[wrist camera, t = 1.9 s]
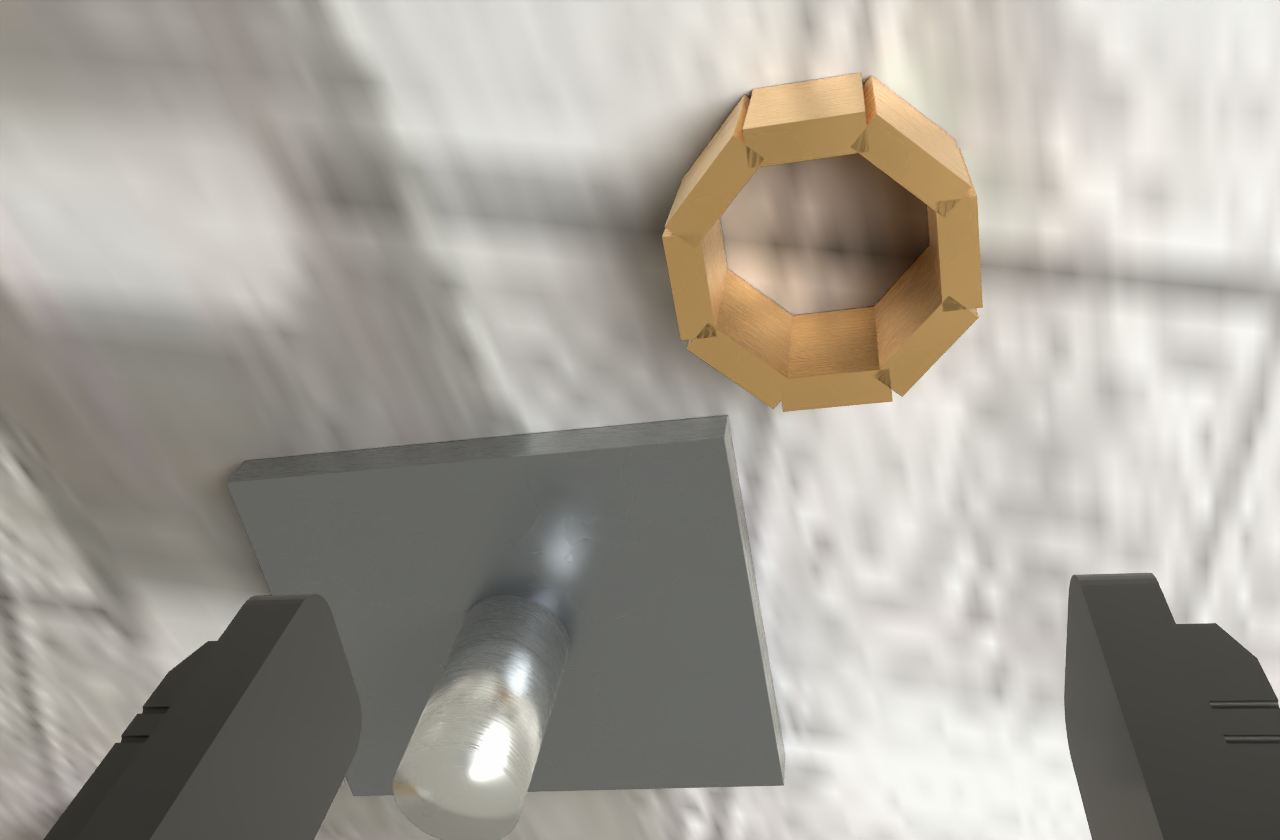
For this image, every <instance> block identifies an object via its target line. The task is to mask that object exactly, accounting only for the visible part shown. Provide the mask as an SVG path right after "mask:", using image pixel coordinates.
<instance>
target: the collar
mask: <svg viewBox="0 0 1280 840" xmlns="http://www.w3.org/2000/svg"><path fill="white" fill-rule="evenodd" d="M856 153H859V154H860V155H862V156H863V157H864V158H866V159H867V160H868V161H870V162H871V163H872V164H874V165H875V166H876V167H878V168H879V169H880V170H882V171H883V172H884V173H886V174H887V175H888V176H890V177H891V178H892V179H893V180H895V181H896V182H897V183H899V184H900V185H901V186H903V187H904V188H905V189H907V190H908V191H909V192H911V193H912V194H913V195H915V196H916V197H917V198H919V199H920V200H921V201H923V202H924V203H925V204H927V212H928V226H929V240H930V245H929V246H928V247H927V248H926V250H925V251H924V252H923V253H922V254H921V255H920V256H919V257H918V259H917V260H916V261H915V262H914V263H913V264H912V265H911V266H910V267H909V269H908V270H907V271H906V272H905V273H904V274H903V275H902V276H901V277H900V279H899V280H898V281H897V282H896V283H895V284H894V285H893V286H892V287H891V289H890V290H889V291H888V292H887V293H886V294H885V295H884V296H883V297H882V299H881V300H880V301H879V302H878V303H877V304H876V305H875V306H874V307H865V308H856V309H847V310H838V311H829V312H820V313H811V314H803V315H794V316H792V315H791V314H790V313H788V312H787V311H785V310H784V309H783V308H781V307H780V306H778V305H777V304H776V303H774V302H773V301H771V300H770V299H769V298H767V297H766V296H764V295H763V294H762V293H760V292H759V291H757V290H756V289H755V288H753V287H752V286H750V285H749V284H748V283H746V282H745V281H743V280H742V279H741V278H739V277H738V276H736V275H735V274H734V273H732V272H731V271H729V270H728V267H727V260H726V254H725V248H724V241H723V235H722V229H721V222H720V216H721V215H722V214H723V213H724V211H725V210H726V209H727V207H728V206H729V205H730V203H731V202H732V201H733V200H734V198H735V197H736V196H737V194H738V193H739V192H740V191H741V189H742V188H743V187H744V185H745V184H746V183H747V181H748V180H749V179H750V178H751V176H752V175H753V174H754V172H755V171H756V170H757V169H758V167H763V166H770V165H778V164H785V163H792V162H799V161H806V160H813V159H820V158H827V157H835V156H842V155H849V154H856ZM662 240H663V245H664V251H665V256H666V262H667V267H668V273H669V278H670V284H671V289H672V295H673V300H674V305H675V311H676V316H677V322H678V327H679V333H680V338H681V340H689V341H688V345H687V350H689V351H690V352H692V353H693V354H695V355H696V356H697V357H699V358H700V359H702V360H703V361H705V362H706V363H708V364H709V365H710V366H712V367H713V368H715V369H716V370H718V371H719V372H721V373H722V374H723V375H725V376H726V377H728V378H729V379H731V380H732V381H733V382H735V383H736V384H738V385H739V386H741V387H742V388H744V389H745V390H746V391H748V392H749V393H751V394H752V395H754V396H755V397H756V398H758V399H759V400H761V401H762V402H764V403H765V404H767V405H768V406H769V407H771V408H772V409H774V408H775V407H776V405H777V404H778V403H779V402H780V401H781V400H782V407H783V412H785V411H796V410H806V409H817V408H828V407H838V406H849V405H860V404H870V403H881V402H891V401H892V391H891V389H892V390H893V391H895V392H896V393H897V394H899V395H900V396H902V397H903V395H904V394H905V393H906V392H907V391H908V390H909V389H910V388H911V387H912V386H913V385H914V384H915V383H916V382H917V381H918V380H919V379H920V378H921V377H922V376H923V375H924V374H925V373H926V372H927V371H928V369H929V368H930V367H931V366H932V365H933V364H934V363H935V362H936V361H937V360H938V359H939V358H940V357H941V356H942V355H943V354H944V353H945V352H946V351H947V350H948V349H949V348H950V347H951V346H952V345H953V344H954V342H955V341H956V340H957V339H958V338H959V337H960V336H961V335H962V334H963V333H964V332H965V331H966V330H967V329H968V328H969V327H970V326H971V325H972V324H973V323H974V322H975V321H976V320H977V319H978V318H979V317H978V313H977V310H976V308H982V307H983V305H982V286H981V266H980V247H979V227H978V207H977V195H976V192H975V190H974V187H973V184H972V181H971V178H970V176H969V173H968V170H967V167H966V165H965V162H964V159H963V156H962V153H961V151H960V148H959V149H958V146H957V143H956V141H955V139H954V138H952V137H951V136H950V135H949V134H947V133H946V132H945V131H943V130H942V129H941V128H939V127H938V126H937V125H936V124H934V123H933V122H932V121H930V120H929V119H928V118H926V117H925V116H924V115H923V114H921V113H920V112H919V111H917V110H916V109H915V108H913V107H912V106H911V105H910V104H908V103H907V102H906V101H904V100H903V99H902V98H901V97H899V96H898V95H897V94H895V93H894V92H893V91H891V90H890V89H889V88H888V87H886V86H885V85H884V84H882V83H881V82H880V81H878V80H877V79H876V78H875V77H873V76H872V75H871V76H870V77H869V79H868V80H867V81H866V83H865V84H864V85H862V75H861V73H855V74H849V75H842V76H836V77H829V78H823V79H816V80H810V81H803V82H797V83H790V84H784V85H778V86H771V87H765V88H758V89H753V92H752V96H751V99H749V98H748V97H747V96H745V95H744V96H743V97H742V98H741V100H740V101H739V103H738V104H737V105H736V107H735V108H734V109H733V111H732V112H731V113H730V115H729V116H728V117H727V119H726V120H725V122H724V123H723V124H722V126H721V127H720V128H719V130H718V131H717V132H716V134H715V135H714V136H713V138H712V139H711V141H710V142H709V143H708V145H707V146H706V147H705V149H704V150H703V151H702V153H701V154H700V155H699V157H698V158H697V159H696V161H695V162H694V164H693V165H692V166H691V168H690V169H689V170H688V172H687V173H686V174H685V176H684V177H683V179H682V182H681V184H680V187H679V190H678V192H677V195H676V198H675V200H674V203H673V206H672V208H671V211H670V214H669V216H668V219H667V221H666V224H665V231H664V233H663V236H662Z"/></svg>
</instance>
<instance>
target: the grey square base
mask: <svg viewBox="0 0 1280 840" xmlns="http://www.w3.org/2000/svg"><path fill="white" fill-rule="evenodd" d="M226 484H227V486H228V489H229V491H230V493H231V496H232V498H233V501H234V503H235V506H236V508H237V511H238V513H239V516H240V518H241V521H242V523H243V525H244V528H245V530H246V533H247V535H248V538H249V540H250V543H251V545H252V548H253V550H254V552H255V555H256V557H257V560H258V562H259V565H260V567H261V570H262V572H263V575H264V577H265V580H266V582H267V584H268V587H269V589H270V592H271V594H272V595H299V594H318V595H321V596H322V597H323V598H324V599H325V600H326V601H327V603H328V604H329V606H330V609H331V611H332V614H333V617H334V620H335V624H336V627H337V630H338V633H339V636H340V639H341V642H342V645H343V648H344V652H345V655H346V658H347V661H348V664H349V667H350V670H351V673H352V676H353V679H354V683H355V686H356V689H357V692H358V695H359V699H360V704H361V713H362V724H361V734H360V740H359V744H358V748H357V751H356V754H355V756H354V758H353V760H352V762H351V764H350V766H349V768H348V770H347V773H346V775H345V776H346V779H347V781H348V784H349V786H350V788H351V791H352V793H353V796H372V795H394V797H395V800H396V803H397V805H398V807H399V808H400V810H401V811H402V813H403V814H404V815H405V816H406V818H407V819H408V820H409V821H411V822H412V823H413V824H414V825H415V826H416V827H418V828H419V829H421V830H422V831H424V832H425V833H427V834H429V835H431V836H433V837H436V838H438V839H440V840H499V839H501V838H503V837H504V836H506V835H507V834H509V833H510V832H511V831H512V830H513V828H514V827H515V826H516V824H517V822H518V820H519V817H520V814H521V810H522V807H523V804H524V801H525V797H526V794H527V792H535V791H576V790H616V789H657V788H698V787H739V786H779V785H784V769H785V752H784V746H783V740H782V734H781V728H780V723H779V717H778V711H777V705H776V699H775V693H774V687H773V681H772V675H771V669H770V663H769V657H768V651H767V645H766V639H765V633H764V628H763V622H762V616H761V610H760V604H759V598H758V592H757V586H756V580H755V574H754V568H753V562H752V556H751V550H750V544H749V538H748V533H747V527H746V521H745V515H744V509H743V503H742V497H741V491H740V485H739V479H738V473H737V467H736V461H735V455H734V449H733V443H732V437H731V432H730V426H729V420H728V415H726V416H716V417H705V418H694V419H684V420H673V421H663V422H652V423H641V424H631V425H620V426H610V427H599V428H588V429H578V430H567V431H557V432H546V433H536V434H525V435H514V436H504V437H493V438H483V439H472V440H461V441H451V442H440V443H430V444H419V445H408V446H398V447H387V448H377V449H366V450H355V451H345V452H334V453H324V454H313V455H302V456H292V457H281V458H271V459H260V460H249V461H245V462H244V463H243V464H242V465H241V466H240V468H239V469H238V470H237V471H236V472H235V473H234V474H233V476H232V477H231V478H230V479H229V480H228V481H227V483H226Z"/></svg>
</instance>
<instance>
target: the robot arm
mask: <svg viewBox="0 0 1280 840" xmlns="http://www.w3.org/2000/svg"><path fill="white" fill-rule="evenodd" d="M1064 702H1065V720H1066V730H1067V738H1068V744H1069V750H1070V755H1071V759H1072V763H1073V767H1074V771H1075V774H1076V778H1077V782H1078V786H1079V790H1080V794H1081V798H1082V802H1083V805H1084V809H1085V813H1086V817H1087V821H1088V825H1089V829H1090V833H1091V836H1092V840H1280V708H1279V706H1278V699H1277V697H1276V695H1275V693H1274V691H1273V689H1272V687H1271V685H1270V683H1269V681H1268V679H1267V677H1266V675H1265V673H1264V671H1263V669H1262V667H1261V665H1260V663H1259V661H1258V659H1257V658H1256V657H1255V656H1254V655H1252V654H1251V653H1250V652H1249V651H1248V650H1246V649H1245V648H1244V647H1243V646H1242V645H1241V644H1239V643H1238V642H1237V641H1236V640H1235V639H1234V638H1232V637H1231V636H1230V635H1229V634H1228V633H1227V632H1225V631H1224V630H1223V629H1222V628H1221V627H1219V626H1218V625H1217V624H1216V623H1213V624H1176V623H1175V621H1174V619H1173V616H1172V614H1171V612H1170V609H1169V607H1168V604H1167V602H1166V600H1165V597H1164V595H1163V593H1162V590H1161V588H1160V586H1159V583H1158V581H1157V579H1156V578H1155V576H1154V575H1153V574H1152V573H1128V574H1092V575H1073V576H1072V578H1071V581H1070V587H1069V601H1068V623H1067V646H1066V668H1065V693H1064ZM361 724H362V713H361V704H360V699H359V695H358V692H357V689H356V686H355V683H354V679H353V676H352V673H351V670H350V667H349V664H348V661H347V658H346V655H345V652H344V648H343V645H342V642H341V639H340V636H339V633H338V630H337V627H336V624H335V620H334V617H333V614H332V611H331V609H330V606H329V604H328V603H327V601H326V600H325V599H324V598H323V597H322V596H321V595H318V594H299V595H264V596H254V597H251V598H250V599H249V600H247V601H246V603H245V604H244V605H243V606H242V608H241V609H240V610H239V612H238V613H237V615H236V616H235V617H234V619H233V620H232V622H231V623H230V624H229V626H228V627H227V629H226V630H225V631H224V633H223V634H222V636H221V637H220V638H219V640H218V641H208V642H207V643H205V644H204V645H203V646H201V647H200V648H199V649H198V650H196V651H195V652H194V653H192V654H191V655H190V656H189V657H187V658H186V659H185V660H183V661H182V662H181V663H180V664H178V665H177V666H176V667H175V668H173V669H172V670H171V671H169V672H168V674H167V675H166V676H165V678H164V679H163V680H162V682H161V683H160V684H159V686H158V687H157V688H156V690H155V691H154V692H153V694H152V695H151V696H150V698H149V699H148V700H147V702H146V703H145V704H144V706H143V713H142V714H137V715H136V717H135V718H134V719H133V721H132V722H131V723H130V725H129V726H128V727H127V729H126V730H125V731H124V733H123V734H122V735H121V736H122V740H121V743H115V745H114V746H113V747H112V749H111V750H110V751H109V753H108V754H107V755H106V757H105V758H104V759H103V761H102V762H101V763H100V765H99V766H98V767H97V769H96V770H95V771H94V773H93V774H92V775H91V777H90V778H89V779H88V781H87V782H86V783H85V785H84V786H83V788H82V789H81V790H80V792H79V793H78V794H77V796H76V797H75V798H74V800H73V801H72V802H71V804H70V805H69V806H68V808H67V809H66V810H65V812H64V813H63V814H62V816H61V817H60V818H59V820H58V821H57V822H56V824H55V825H54V826H53V828H52V829H51V830H50V832H49V833H48V834H47V836H46V837H45V838H44V840H314V838H315V836H316V834H317V832H318V830H319V828H320V826H321V824H322V822H323V820H324V818H325V816H326V814H327V811H328V809H329V807H330V805H331V803H332V801H333V799H334V797H335V795H336V793H337V791H338V789H339V787H340V785H341V783H342V781H343V779H344V777H345V775H346V773H347V770H348V768H349V766H350V764H351V762H352V760H353V758H354V756H355V754H356V751H357V748H358V744H359V740H360V734H361Z"/></svg>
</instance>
